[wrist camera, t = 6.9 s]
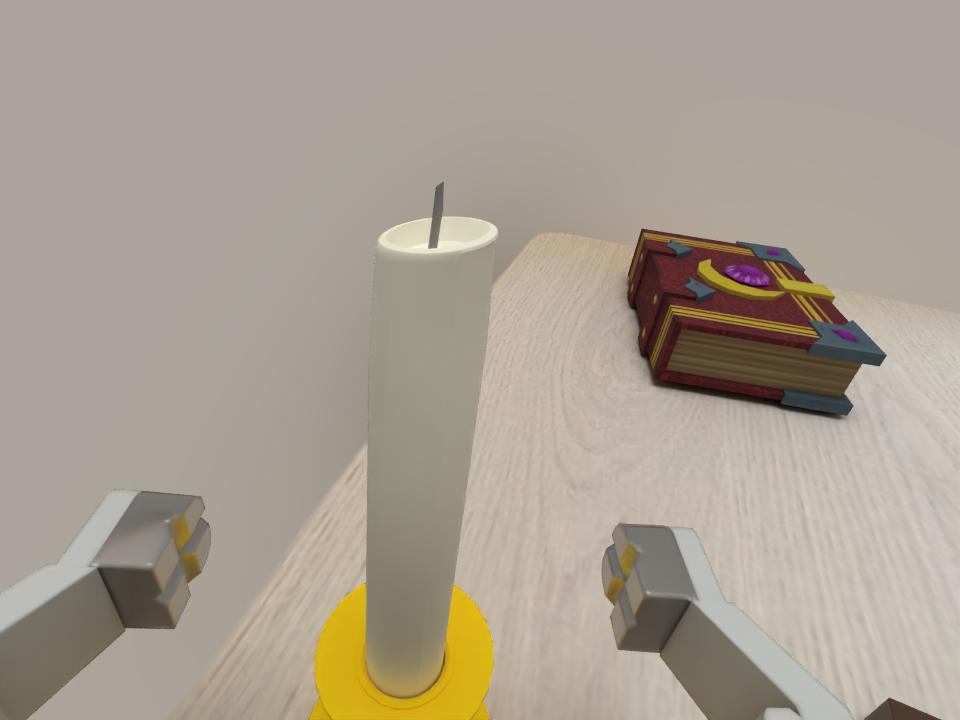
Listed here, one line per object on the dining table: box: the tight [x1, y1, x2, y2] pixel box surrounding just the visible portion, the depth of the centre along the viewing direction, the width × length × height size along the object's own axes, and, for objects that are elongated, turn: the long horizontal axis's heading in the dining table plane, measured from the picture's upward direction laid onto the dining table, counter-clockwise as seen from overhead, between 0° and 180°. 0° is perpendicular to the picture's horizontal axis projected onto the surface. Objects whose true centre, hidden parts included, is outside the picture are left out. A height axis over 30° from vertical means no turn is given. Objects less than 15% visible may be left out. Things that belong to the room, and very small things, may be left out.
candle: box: [308, 182, 499, 720], centre depth 10 cm, size 5×5×16 cm
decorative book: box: [627, 229, 887, 416], centre depth 36 cm, size 11×16×5 cm
